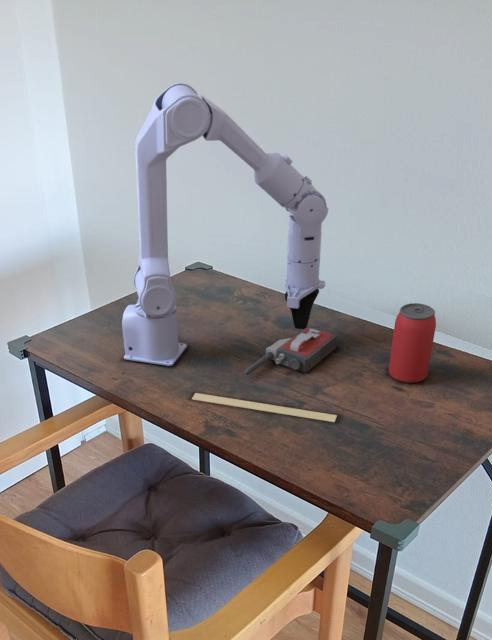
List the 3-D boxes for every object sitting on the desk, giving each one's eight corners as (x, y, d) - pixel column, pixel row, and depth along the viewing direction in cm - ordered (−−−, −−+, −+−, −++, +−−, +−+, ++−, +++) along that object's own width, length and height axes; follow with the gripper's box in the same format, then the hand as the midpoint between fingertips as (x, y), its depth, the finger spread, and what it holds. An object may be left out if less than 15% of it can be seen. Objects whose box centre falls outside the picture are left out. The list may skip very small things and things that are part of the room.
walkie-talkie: (300, 333, 142) (240, 378, 130) (301, 312, 140) (240, 355, 127) (341, 345, 138) (283, 393, 126) (343, 323, 135) (284, 369, 123)
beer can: (430, 369, 130) (442, 305, 123) (422, 388, 126) (433, 322, 118) (393, 362, 133) (402, 299, 125) (383, 380, 128) (392, 315, 121)
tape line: (191, 399, 125) (191, 398, 125) (195, 393, 126) (195, 392, 126) (334, 422, 118) (334, 421, 118) (337, 415, 120) (337, 415, 120)
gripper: (317, 275, 125) (313, 348, 133) (334, 244, 135) (329, 313, 144) (276, 271, 127) (274, 343, 135) (296, 240, 137) (293, 309, 146)
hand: (300, 328), depth 140 cm, fingers closed, pressing on walkie-talkie
